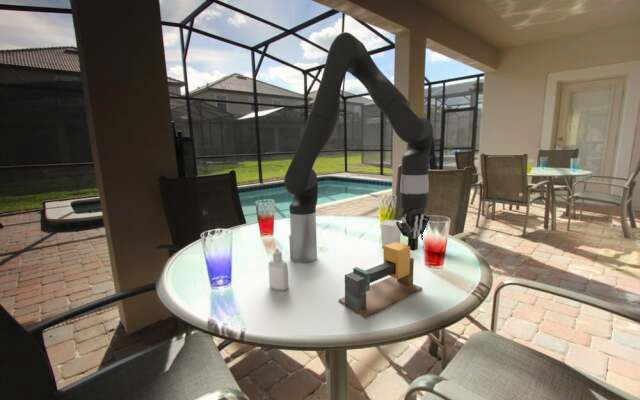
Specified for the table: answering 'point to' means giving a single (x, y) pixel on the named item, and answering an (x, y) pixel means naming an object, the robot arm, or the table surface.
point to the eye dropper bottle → (278, 272)
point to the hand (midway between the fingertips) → (412, 249)
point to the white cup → (389, 232)
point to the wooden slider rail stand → (376, 289)
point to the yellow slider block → (398, 258)
